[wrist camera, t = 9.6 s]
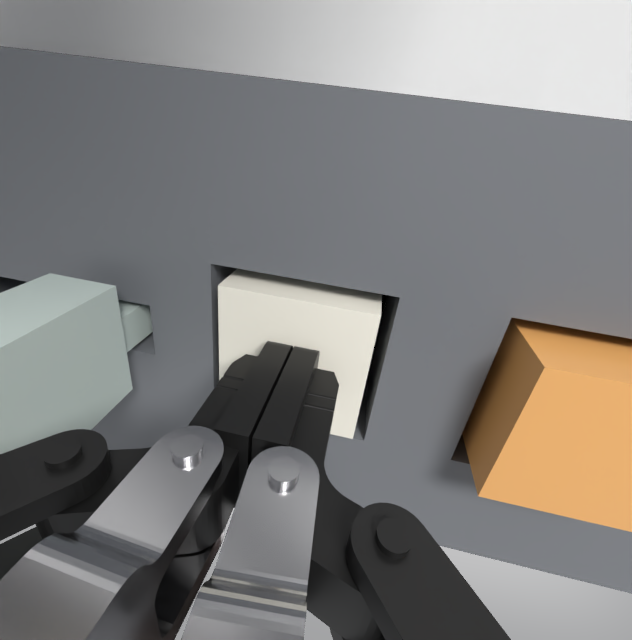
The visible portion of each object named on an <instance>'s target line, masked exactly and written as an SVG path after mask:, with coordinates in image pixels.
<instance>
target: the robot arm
mask: <svg viewBox="0 0 632 640" xmlns="http://www.w3.org/2000/svg"><path fill="white" fill-rule="evenodd" d="M319 355H320V351H317V350H312V349H307V348H302V347H297V346H294V348H293V346H292V345H287V344H282V343H277V342H272V341H267V342H266V344H265V345H264V347H263V349H262V350H261V352H260V354H259V355H258V356H253V355H248V354H245V355H244V356H242V357H241V358H239V359H237V360H236V361H234V362H232V364H231V365H230V366H229V368H228V369H227V371H226V372H225V374H224V376H223V377H222V378H221V379H220V381H219V382H218V383H217V386H216V387H215V388H214V389H213V391H212V392H211V393H210V395H209V396H208V398H207V399H206V401H205V402H204V403H203V405H202V406H201V408H200V409H199V411H198V412H197V413H196V415H195V416H194V418H193V419H192V421H191V422H190V423H189V425H188V426H186V427H181V428H177V429H175V430H172V431H170V432H168V433H167V434H165V435H164V436H162V437H161V438H160V439H159V440H158V441H157V442H156V443H155V444H154V445H153V446H152V447H149V448H140V449H119V450H108V446H107V442H106V440H105V438H104V437H103V436H102V435H101V434H100V433H98V432H96V431H92V430H87V429H75V430H69V431H64V432H61V433H58V434H55V435H52V436H49V437H47V438H44V439H41V440H38V441H36V442H33V443H30V444H27V445H25V446H22V447H19V448H16V449H14V450H11V451H8V452H5V453H3V454H0V541H1V540H3V539H5V538H7V537H9V536H11V535H13V534H15V533H17V532H19V531H21V530H23V529H26V528H28V527H30V526H32V525H34V524H36V526H37V527H35V528H33V529H31V530H29V531H27V532H24V533H23V534H20V535H18V536H16V537H14V538H12V539H10V540H8V541H6V542H4V543H2V544H0V640H175V637H176V635H177V633H178V631H179V629H180V627H181V625H182V623H183V621H184V619H185V617H186V615H187V613H188V611H189V609H190V607H191V605H192V603H193V601H194V599H195V597H196V595H197V593H198V590H199V589H200V587H201V585H202V583H203V580H204V578H205V576H206V574H207V572H208V570H209V568H210V566H211V564H212V562H213V560H214V558H215V556H216V554H217V552H218V550H219V548H220V546H221V544H222V541H223V538H224V530H225V527H226V524H227V522H228V519H229V517H230V515H231V512H232V510H233V508H235V509H234V512H233V515H232V518H231V521H230V524H229V527H228V530H227V533H226V536H225V539H224V542H223V546H222V548H221V551H220V554H219V557H218V560H217V563H216V566H215V569H214V571H213V574H212V576H211V578H210V580H209V581H206V582H205V583H204V584H203V586H202V587H201V589H200V591H199V593H198V595H197V598H196V600H195V602H194V605H193V607H192V610H191V613H190V615H189V618H188V621H187V624H186V627H185V630H184V632H183V635H182V638H181V640H304V631H305V622H306V610H308V611H310V612H311V613H312V614H313V615H315V616H316V617H317V618H318V619H320V620H321V621H322V622H324V623H325V624H326V625H328V626H329V627H330V630H331V634H332V637H333V640H511V639H510V638H509V636H508V635H507V634H506V633H505V631H504V630H503V629H502V627H501V626H500V625H499V623H498V622H497V621H496V619H495V618H494V617H493V616H492V614H491V613H490V612H489V610H488V609H487V608H486V606H485V605H484V604H483V602H482V601H481V600H480V599H479V597H478V596H477V595H476V593H475V592H474V591H473V589H472V588H471V587H470V585H469V584H468V583H467V582H466V580H465V579H464V578H463V576H462V575H461V574H460V572H459V571H458V570H457V568H456V567H455V566H454V564H453V563H452V562H451V561H450V559H449V558H448V557H447V555H446V554H445V553H444V551H443V550H442V549H441V547H440V546H439V545H438V544H437V542H436V541H435V540H434V538H433V537H432V536H431V534H430V533H429V532H428V530H427V529H426V528H425V527H424V525H423V524H422V523H421V522H420V521H419V519H418V518H416V517H415V516H414V515H413V514H412V513H410V512H409V511H408V510H406V509H404V508H402V507H400V506H398V505H395V504H391V503H381V502H380V503H374V504H371V505H368V506H366V507H364V508H363V507H362V506H360V505H358V504H356V503H355V502H353V501H351V500H350V499H348V498H346V497H345V496H344V495H342V494H341V493H340V492H339V491H337V490H336V489H335V487H334V486H333V485H332V484H331V482H330V481H329V479H328V477H327V475H326V472H325V468H324V461H325V456H326V451H327V446H328V441H329V436H330V431H331V426H332V421H333V415H334V410H335V405H336V399H337V394H338V388H339V383H338V381H337V378H336V376H335V373H334V372H332V371H327V370H322V369H318V362H319Z"/></svg>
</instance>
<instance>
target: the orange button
mask: <svg viewBox="0 0 632 640" xmlns="http://www.w3.org/2000/svg"><path fill="white" fill-rule="evenodd" d="M462 435H463V439H464V443H465V447H466V451H467V455H468V459H469V463H470V467H471V471H472V475H473V479H474V483H475V487H476V490H477V494H478V496H479V497H483V498H487V499H492V500H496V501H500V502H505V503H509V504H513V505H517V506H522V507H526V508H530V509H535V510H539V511H543V512H548V513H552V514H556V515H561V516H565V517H569V518H573V519H578V520H582V521H586V522H591V523H595V524H599V525H604V526H608V527H612V528H617V529H621V530H625V531H629V532H632V339H629V338H624V337H618V336H612V335H607V334H601V333H596V332H590V331H584V330H579V329H573V328H568V327H562V326H556V325H551V324H545V323H540V322H534V321H529V320H523V319H517V318H511V320H510V323H509V325H508V327H507V330H506V332H505V334H504V337H503V339H502V341H501V344H500V346H499V348H498V351H497V353H496V355H495V358H494V360H493V362H492V365H491V367H490V369H489V372H488V374H487V376H486V379H485V381H484V383H483V386H482V388H481V390H480V393H479V395H478V397H477V400H476V402H475V404H474V407H473V409H472V411H471V414H470V416H469V418H468V421H467V423H466V425H465V428H464V430H463V432H462Z"/></svg>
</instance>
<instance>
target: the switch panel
mask: <svg viewBox="0 0 632 640" xmlns="http://www.w3.org/2000/svg"><path fill="white" fill-rule="evenodd" d="M237 268H238V269H243V270H249V271H254V272H260V273H266V274H271V275H277V276H282V277H288V278H294V279H299V280H305V281H310V282H316V283H322V284H327V285H333V286H338V287H344V288H350V289H355V290H361V291H366V292H372V293H377V294H383V295H387V298H386V303H385V307H384V311H383V315H382V320H381V324H380V328H379V333H378V337H377V341H376V346H375V350H374V354H373V359H372V363H371V367H370V371H368V376H367V380H366V384H365V389H364V393H363V397H362V402H361V406H360V410H359V415H358V419H357V423H356V428H355V432H354V436H353V439H350V438H346V437H341V436H337V435H332V434H330V436H329V441H328V446H327V451H326V456H325V461H324V468H325V472H326V475H327V477H328V479H329V481H330V482H331V484H332V485H333V486H334V487H335V489H336V490H337V491H339V492H340V493H341V494H342V495H344V496H345V497H346V498H348V499H350V500H351V501H353V502H355V503H356V504H358V505H360V506H362V507H363V508H364V507H366V506H368V505H371V504H374V503H380V502H381V503H391V504H395V505H398V506H400V507H402V508H404V509H406V510H408V511H409V512H410V513H412V514H413V515H414V516H415V517H416V518H418V519H419V521H420V522H421V523H422V524H423V525H424V527H425V528H426V529H427V530H428V532H429V533H430V534H431V536H432V537H433V538H434V540H435V541H436V542H437V544H438V545H439V546H444V547H447V548H451V549H456V550H459V551H463V552H468V553H471V554H475V555H479V556H484V557H488V558H491V559H495V560H500V561H504V562H507V563H512V564H516V565H520V566H524V567H528V568H532V569H536V570H540V571H544V572H548V573H552V574H556V575H560V576H564V577H568V578H572V579H576V580H580V581H584V582H588V583H592V584H596V585H600V586H604V587H608V588H612V589H616V590H620V591H624V592H628V593H632V532H629V531H625V530H621V529H617V528H612V527H608V526H604V525H599V524H595V523H591V522H586V521H582V520H578V519H573V518H569V517H565V516H561V515H556V514H552V513H548V512H543V511H539V510H535V509H530V508H526V507H522V506H517V505H513V504H509V503H505V502H500V501H496V500H492V499H487V498H483V497H479V496H478V494H477V490H476V487H475V483H474V479H473V475H472V471H471V467H470V463H469V459H468V455H467V451H466V447H465V443H464V439H463V435H462V432H463V430H464V428H465V425H466V423H467V421H468V418H469V416H470V414H471V411H472V409H473V407H474V404H475V402H476V400H477V397H478V395H479V393H480V390H481V388H482V386H483V383H484V381H485V379H486V376H487V374H488V372H489V369H490V367H491V365H492V362H493V360H494V358H495V355H496V353H497V351H498V348H499V346H500V344H501V341H502V339H503V337H504V334H505V332H506V330H507V327H508V325H509V323H510V320H511V318H517V319H523V320H529V321H534V322H540V323H545V324H551V325H556V326H562V327H568V328H573V329H579V330H584V331H590V332H596V333H601V334H607V335H612V336H618V337H624V338H629V339H632V121H627V120H619V119H610V118H602V117H594V116H585V115H577V114H568V113H560V112H551V111H543V110H534V109H526V108H518V107H509V106H501V105H492V104H484V103H475V102H467V101H459V100H450V99H442V98H433V97H425V96H416V95H408V94H399V93H391V92H383V91H374V90H366V89H357V88H349V87H340V86H332V85H324V84H315V83H307V82H298V81H290V80H281V79H273V78H264V77H256V76H248V75H239V74H231V73H222V72H214V71H205V70H197V69H188V68H180V67H172V66H163V65H155V64H146V63H138V62H129V61H121V60H113V59H104V58H96V57H87V56H79V55H70V54H62V53H53V52H45V51H37V50H28V49H20V48H11V47H3V46H0V293H1V292H4V291H6V290H9V289H11V288H14V287H16V286H19V285H22V284H24V283H27V282H29V281H32V280H34V279H37V278H39V277H42V276H44V275H47V274H49V273H52V274H57V275H62V276H67V277H73V278H78V279H83V280H88V281H93V282H99V283H104V284H109V285H114V286H116V290H117V296H118V300H123V301H128V302H133V303H138V304H143V305H149V306H150V313H151V322H152V330H153V332H152V333H150V334H149V335H148V336H147V337H146V338H144V339H143V340H142V341H141V342H139V343H138V344H137V345H136V346H135V347H133V348H132V349H131V350H130V351H128V352H127V357H128V363H129V369H130V375H131V381H132V387H133V389H132V390H131V391H130V392H129V393H128V394H127V395H126V396H125V397H124V398H123V399H122V400H121V401H120V402H119V403H118V404H117V405H116V406H115V407H114V408H113V409H112V410H111V411H110V412H109V413H108V414H107V415H106V416H105V417H104V418H103V419H102V420H101V421H100V422H99V423H98V424H97V425H96V426H95V427H94V428H92V429H91V430H92V431H96V432H98V433H100V434H101V435H102V436H103V437H104V438H105V440H106V442H107V446H108V450H119V449H140V448H149V447H152V446H153V445H154V444H155V443H156V442H157V441H158V440H159V439H160V438H161V437H162V436H164V435H165V434H167V433H168V432H170V431H172V430H175V429H177V428H181V427H186V426H188V425H189V423H190V422H191V421H192V419H193V418H194V416H195V415H196V413H197V412H198V411H199V409H200V408H201V406H202V405H203V403H204V402H205V401H206V399H207V398H208V396H209V395H210V393H211V392H212V391H213V389H214V388H215V387H216V386H217V383H218V382H219V327H218V285H219V284H220V283H221V282H222V281H224V280H225V279H226V278H227V277H228V276H229V275H231V274H232V273H233V272H234V271H235V270H236V269H237Z"/></svg>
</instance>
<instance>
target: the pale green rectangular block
mask: <svg viewBox="0 0 632 640" xmlns="http://www.w3.org/2000/svg"><path fill="white" fill-rule="evenodd" d="M152 332H153V330H152V322H151V313H150V306H149V305H143V304H138V303H133V302H128V301H123V300H118V296H117V290H116V286H114V285H109V284H104V283H99V282H93V281H88V280H83V279H78V278H73V277H67V276H62V275H57V274H52V273H49V274H47V275H44V276H42V277H39V278H37V279H34V280H32V281H29V282H27V283H24V284H22V285H19V286H16V287H14V288H11V289H9V290H6V291H4V292H1V293H0V454H3V453H5V452H8V451H11V450H14V449H16V448H19V447H22V446H25V445H27V444H30V443H33V442H36V441H38V440H41V439H44V438H47V437H49V436H52V435H55V434H58V433H61V432H64V431H69V430H75V429H87V430H91V429H92V428H94V427H95V426H96V425H97V424H98V423H99V422H100V421H101V420H102V419H103V418H104V417H105V416H106V415H107V414H108V413H109V412H110V411H111V410H112V409H113V408H114V407H115V406H116V405H117V404H118V403H119V402H120V401H121V400H122V399H123V398H124V397H125V396H126V395H127V394H128V393H129V392H130V391H131V390H132V389H133V387H132V381H131V375H130V369H129V363H128V357H127V352H128V351H130V350H131V349H132V348H133V347H135V346H136V345H137V344H138V343H139V342H141V341H142V340H143V339H144V338H146V337H147V336H148V335H149V334H150V333H152Z"/></svg>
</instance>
